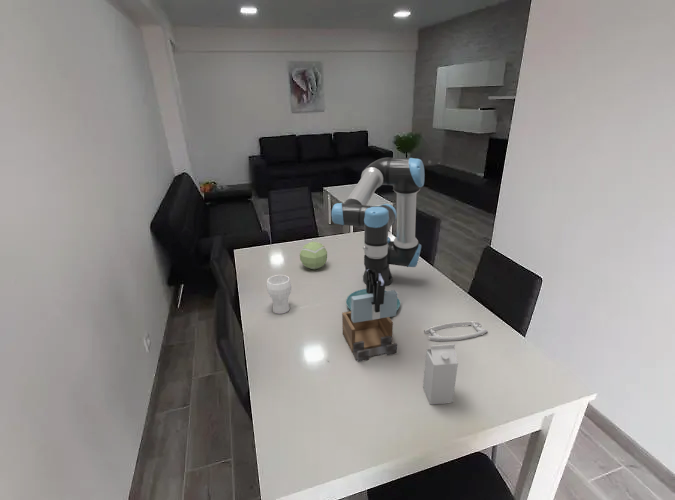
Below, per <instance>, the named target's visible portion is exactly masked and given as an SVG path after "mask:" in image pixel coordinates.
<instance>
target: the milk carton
mask: <svg viewBox="0 0 675 500" xmlns="http://www.w3.org/2000/svg"><path fill="white" fill-rule="evenodd" d="M455 347H456V344H455V343H451V344H448V343H447V344H437V345H430V348H428V349H426V350H425V360H424V371H423V380H422V382H423V384H422V388H423V391H424V393H425V395H426V398H427V400H428V402H429V405H440V404H441V405H442V404H452V403H453V402H454V394H455V388H456V380H457V372H458V365H459V363H458V362H459V361H458V356H457V353H456V352H457V351H456V349H455Z"/></svg>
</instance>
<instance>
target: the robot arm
mask: <svg viewBox="0 0 675 500" xmlns="http://www.w3.org/2000/svg"><path fill="white" fill-rule="evenodd" d="M425 175H426V174H425V166H424V163H423V160H422V159H420V158H413V157H381V158H379V159H377V160H375V161H373V162H371V163H370V164H369V165H367V166H366V167H365V168H364V169H363V170H362V172H361V175H360V180H359V181H358V183H357V184H356V185H355V187H353V189H352V191H351V192H350V194H349V195H348V197H347V198H346V199H345V200H344V203H342V202H340V203H338V202H337V203H335V204H333V206H332V209H331V221H332V223H334V224H335V225H340V226H352V227H361V228H364V233H363V235H364V240H363V241H364V244H363V245H364V246H362V249H363V250H364V253H363V254H364V255H363V256H364V257H363V265H364V268H365V270H364V272H363V276H362V281H363V283H364V284H366V285H365V289H366V292H367V293H368V294H371V293H373V302H371V303H372V320H375V319H380V305H381V304H384V293H385V291H386V290H385V289H386V287H387V286H390V284H392V283H393V275H392V271H391V269H390V265H392V266H401V267H407V268H415V267H417V266H418V262H419V260H420V254H421V250H422V244H420V243H419V240H418V239H417V237H416V223H417V222H416V221H417V220H416V216H417V193H418V192H420V190H421V188H422V187H424V185H425V177H426V176H425ZM381 186H392V188H393V189H392V191H394V193H396V208H395V207H394V206H393V205H391V204H389V203H384V204H381V205H379V206H377V205H368V203H369V202H370V201H371V198H372V197H373V195H374V194H375V192H376V190H377V189H378V188H380V187H381ZM395 222H396V237H395V238H394V239H393V240H391V238H390V237H389V230H390V228H391V227H392V226H393V225H394V224H395Z"/></svg>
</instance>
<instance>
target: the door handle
mask: <svg viewBox="0 0 675 500" xmlns="http://www.w3.org/2000/svg"><path fill="white" fill-rule="evenodd" d="M462 325H464V326H462ZM465 325H472V326H473V327H472V326H471V327H472V328H474V330H476V331H475V332H472V333H467V334H462V335H451V336H449V335H448V336H441V335H440V334H438V333H437V332H436V331H440V330H443V329H447V327H448V328H454V327H453V326H456V327H466V326H465ZM479 325H481V326H479ZM423 332H424V334H431V335H428V339H429V340H430V341H432V342H454V341H457V342H458V341H465V340H468V339H469V340H470V339H473V338H476V337H480V336H479V335H482V336H483V334H484V335H485V334H486V332H487V333H488V329H486V328H482V324H481V323H480V322H479V321H476V320H474V321H473V320H471V321H456V322H455V321H453V322H447V323H442V324H438V325H434V326H430V327H428V328H426V329H425V330H423Z"/></svg>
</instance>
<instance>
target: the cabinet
mask: <svg viewBox="0 0 675 500" xmlns="http://www.w3.org/2000/svg"><path fill="white" fill-rule="evenodd" d="M341 314H342V318H341V319H342V335H343V338H344V340H345V342H346V343H347V346H348V347H349V349H350V351H351V354H352V356H353V357H354V359H355V361H357V362H358V363H359V362H364V361H369V360H370V359H369V358H373V357H378V356H383V355H386V356H387V357H388V356H393V355H397V354H398V342H394V343H393V332H394V331H393V329H394V322H393V320H392V319H391V317H385V318H380V319H375V320H368V321H362V322H356V323H353V321H352V320H351V310H349V311H344V312H342V313H341Z"/></svg>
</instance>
